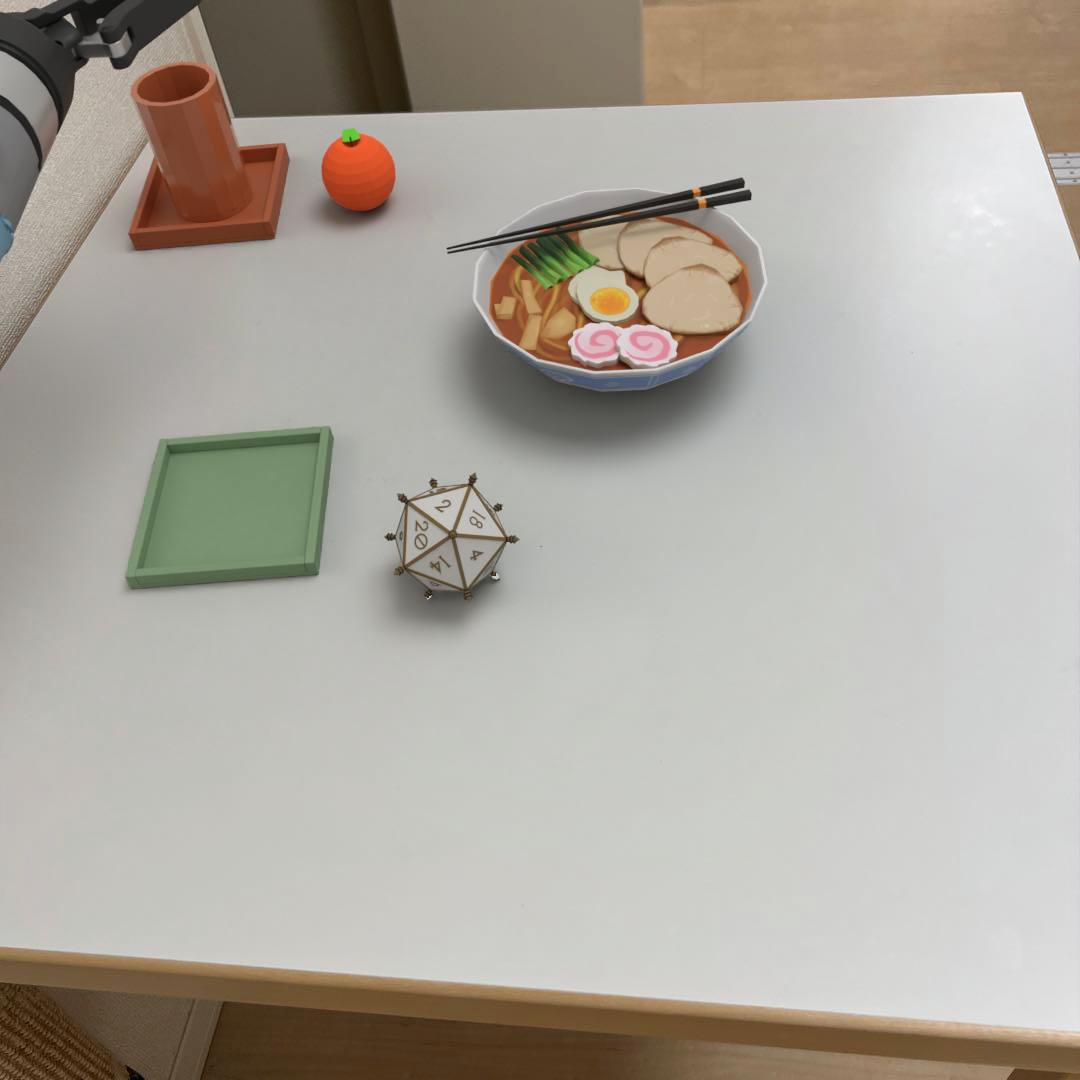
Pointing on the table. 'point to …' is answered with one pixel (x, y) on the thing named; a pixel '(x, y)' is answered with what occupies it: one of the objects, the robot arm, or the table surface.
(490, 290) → the ramen bowl
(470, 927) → the table surface
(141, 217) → the terracotta tray
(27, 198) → the robot arm
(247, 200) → the terracotta cup
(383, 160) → the clementine
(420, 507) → the game die
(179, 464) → the sage tray
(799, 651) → the table surface
